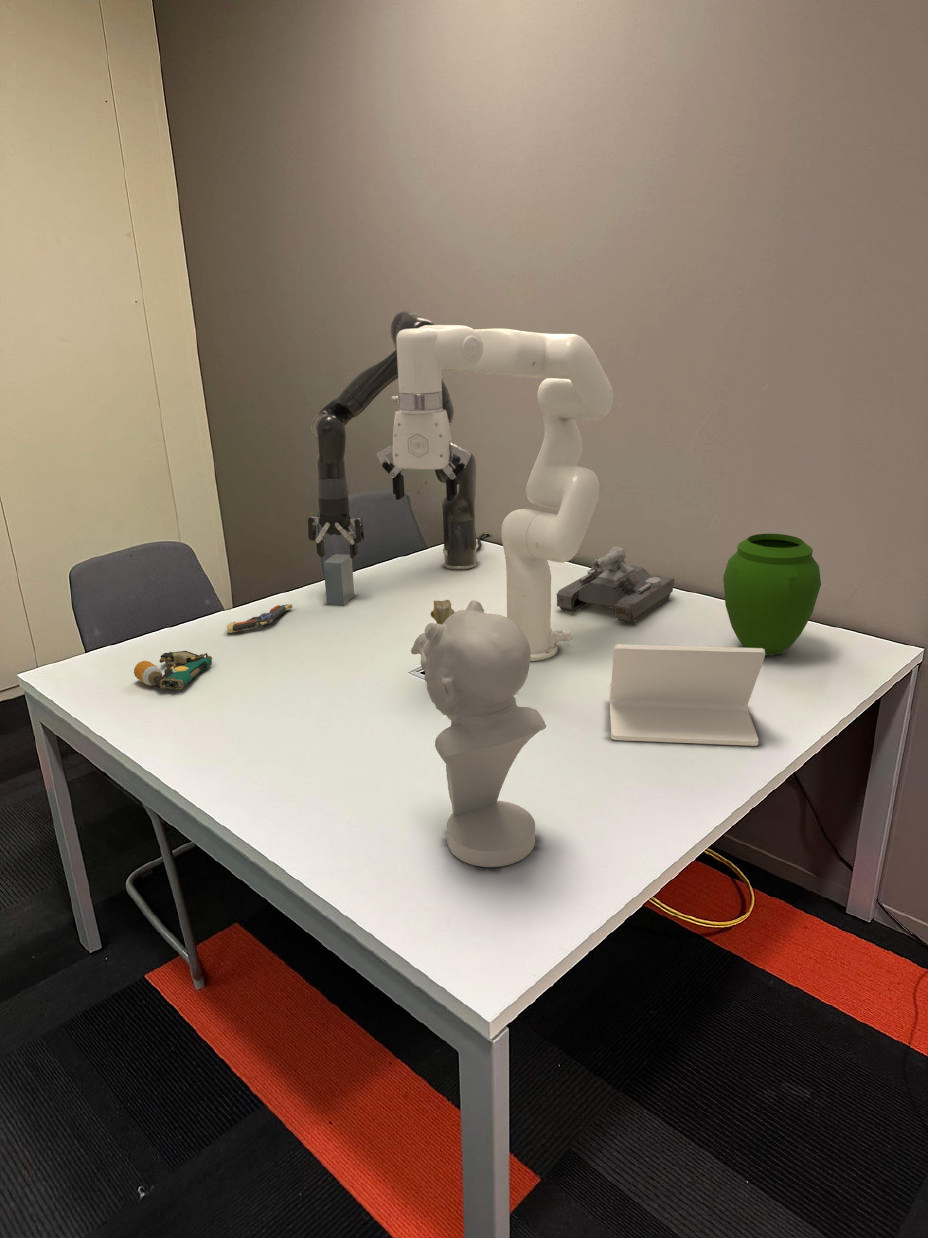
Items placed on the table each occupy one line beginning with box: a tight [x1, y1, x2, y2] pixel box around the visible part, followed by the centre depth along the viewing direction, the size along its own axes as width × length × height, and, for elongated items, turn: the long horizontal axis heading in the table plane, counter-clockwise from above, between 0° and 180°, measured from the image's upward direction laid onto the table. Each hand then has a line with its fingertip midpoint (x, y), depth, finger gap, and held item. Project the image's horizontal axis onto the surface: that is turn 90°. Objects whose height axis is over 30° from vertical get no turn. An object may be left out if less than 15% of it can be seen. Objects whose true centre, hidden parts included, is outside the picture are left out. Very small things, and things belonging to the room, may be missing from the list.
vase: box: [722, 533, 822, 656], centre depth 181 cm, size 20×20×24 cm
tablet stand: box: [609, 643, 766, 747], centre depth 153 cm, size 18×25×17 cm
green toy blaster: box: [133, 650, 213, 690], centre depth 180 cm, size 4×17×15 cm
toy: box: [556, 546, 676, 624], centre depth 212 cm, size 25×20×15 cm
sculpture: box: [430, 599, 456, 624], centre depth 177 cm, size 6×7×15 cm
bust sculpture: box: [410, 599, 547, 868], centre depth 121 cm, size 16×24×35 cm
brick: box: [322, 553, 356, 607], centre depth 222 cm, size 5×8×11 cm, turn 166°
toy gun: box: [226, 603, 293, 634], centre depth 210 cm, size 3×19×10 cm
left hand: (337, 557), depth 219 cm, fingers open, 8 cm apart
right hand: (425, 498), depth 156 cm, fingers open, 9 cm apart
